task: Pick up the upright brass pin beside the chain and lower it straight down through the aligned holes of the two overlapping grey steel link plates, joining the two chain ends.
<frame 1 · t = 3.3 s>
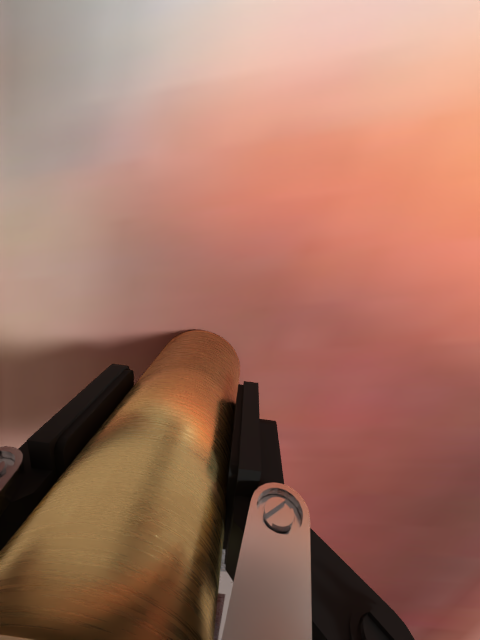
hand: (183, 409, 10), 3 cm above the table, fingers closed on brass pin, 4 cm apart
upper chain link: (184, 555, 17), on the table
brass pin: (200, 367, 13), on the table, touching gripper
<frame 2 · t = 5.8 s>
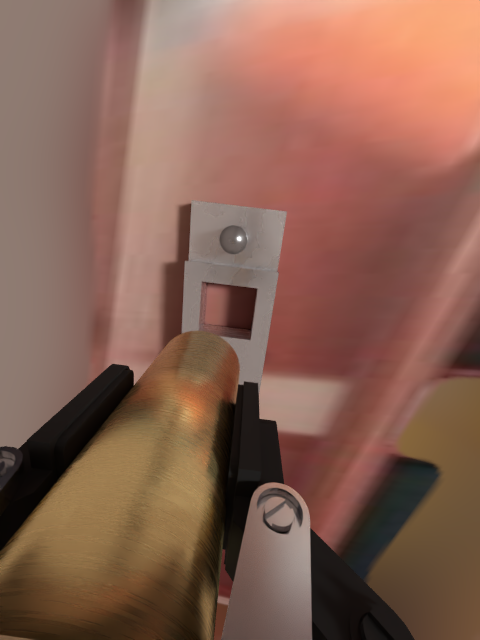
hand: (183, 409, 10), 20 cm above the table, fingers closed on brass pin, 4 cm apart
upper chain link: (229, 304, 29), on the table
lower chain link: (229, 304, 29), on the table
brass pin: (199, 368, 13), point 17 cm above the table, touching gripper
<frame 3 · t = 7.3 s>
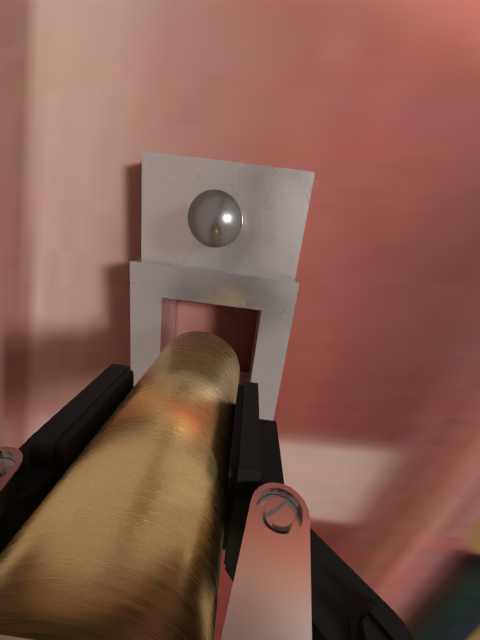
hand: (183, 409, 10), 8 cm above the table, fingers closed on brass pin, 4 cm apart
upper chain link: (214, 331, 18), on the table
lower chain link: (214, 331, 18), on the table
brass pin: (199, 369, 13), point 5 cm above the table, touching gripper
when the fingers open (5 cm above the table, at t = 8.4 s): brass pin drops 1 cm, resting in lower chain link.
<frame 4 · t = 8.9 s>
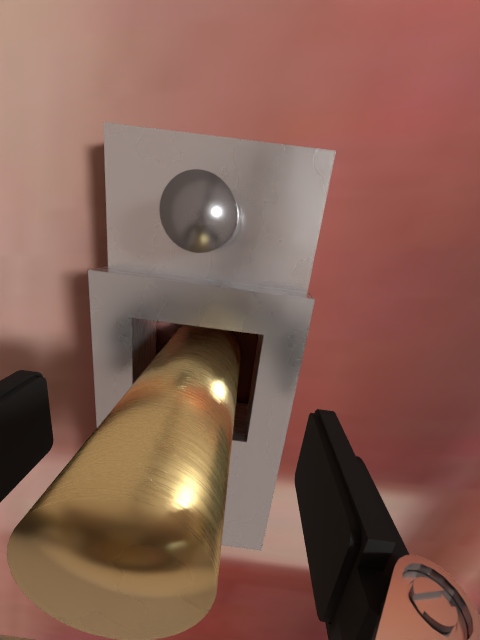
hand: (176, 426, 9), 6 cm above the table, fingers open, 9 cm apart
upper chain link: (205, 355, 14), on the table
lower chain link: (205, 355, 14), on the table
brass pin: (204, 354, 14), resting in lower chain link
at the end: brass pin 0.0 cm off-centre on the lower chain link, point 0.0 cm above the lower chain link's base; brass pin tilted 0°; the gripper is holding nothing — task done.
